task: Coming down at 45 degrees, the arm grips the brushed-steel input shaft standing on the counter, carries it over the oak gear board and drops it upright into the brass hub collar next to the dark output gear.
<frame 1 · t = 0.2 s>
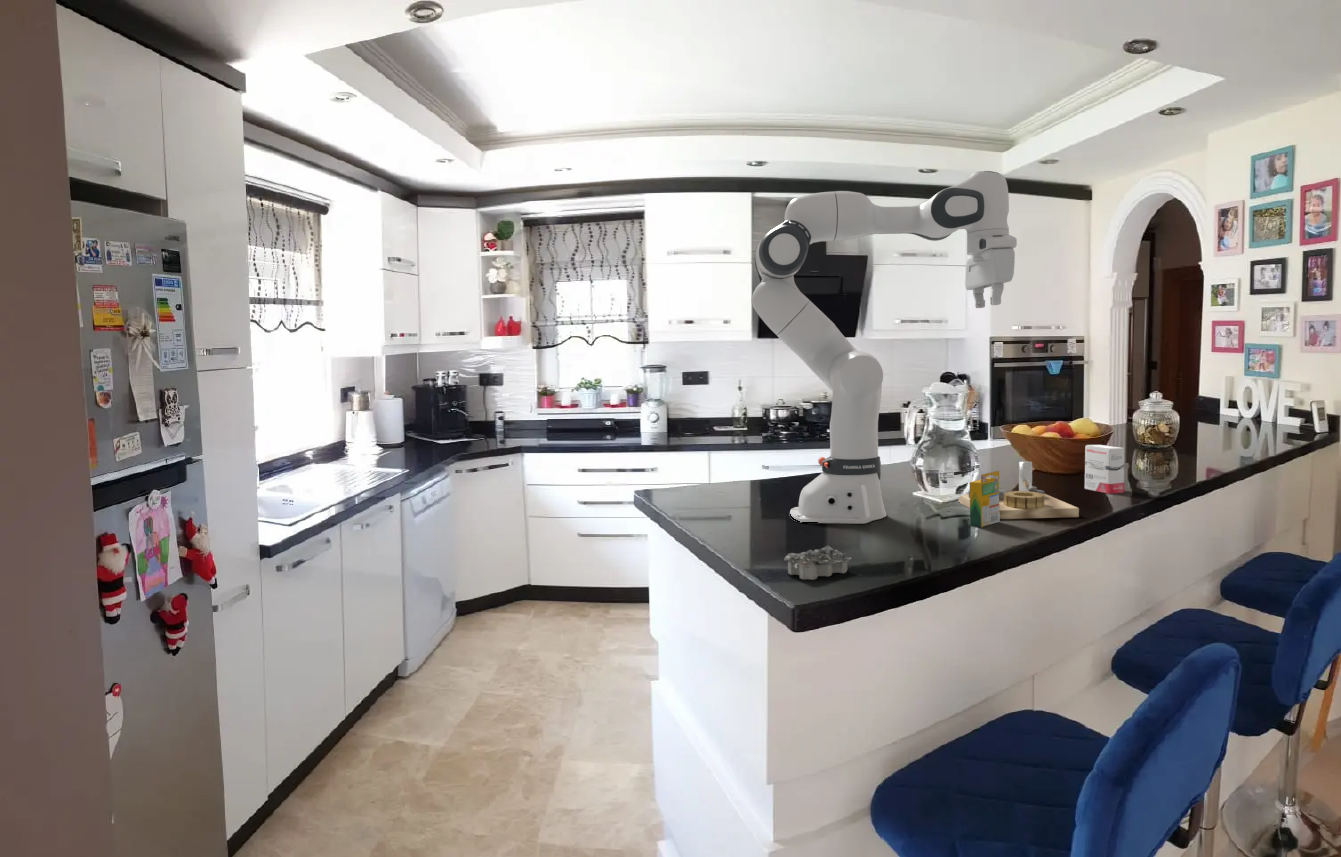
hand: (987, 306, 172), 48 cm above the countertop, tool pointing down, fingers open, 8 cm apart
egg carton: (817, 573, 135), on the countertop
crayon box: (984, 524, 165), on the countertop
input shaft: (1025, 496, 192), on the countertop
ink box: (1104, 491, 195), on the countertop
gear board: (1015, 509, 178), on the countertop
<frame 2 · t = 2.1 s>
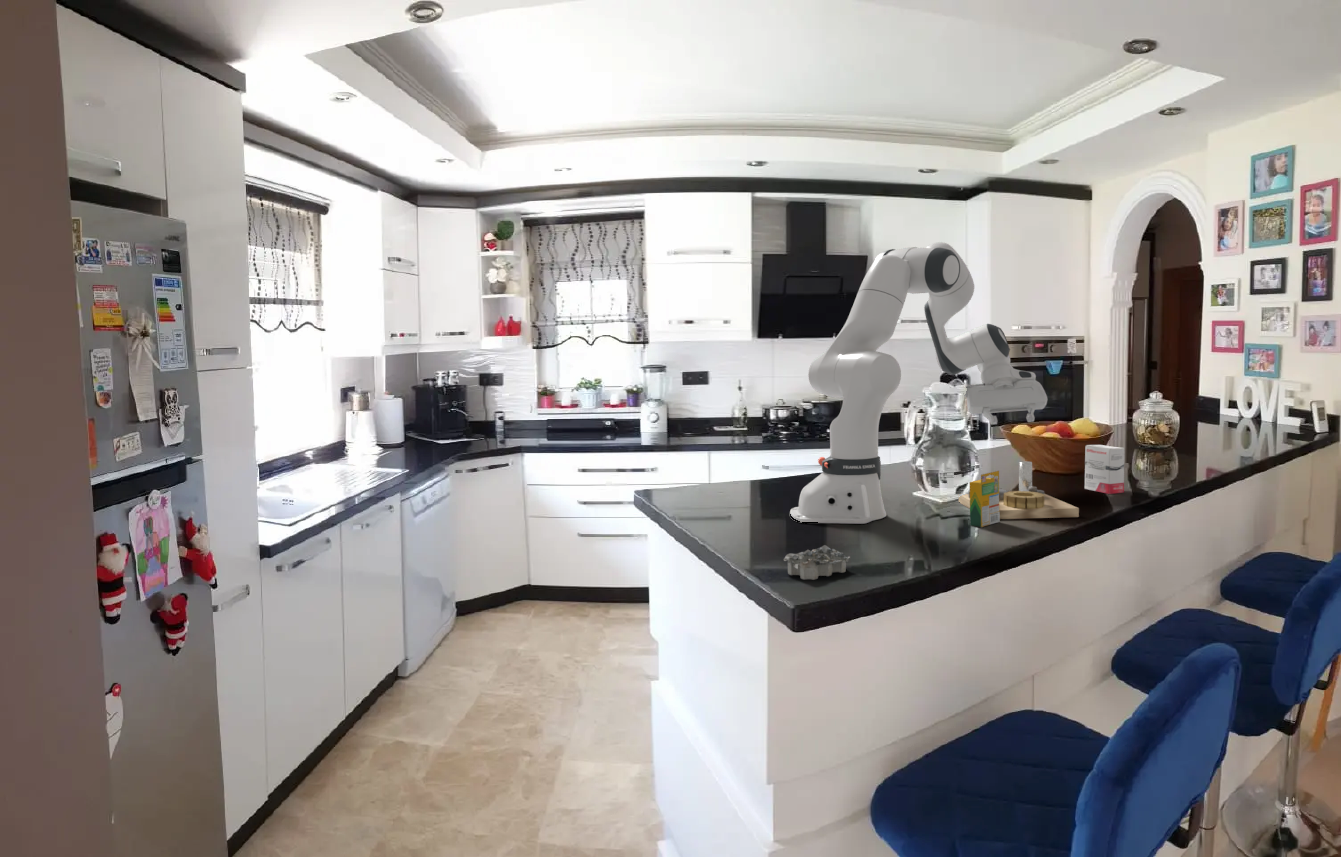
hand: (1012, 421, 201), 18 cm above the countertop, tool tilted 45°, fingers open, 8 cm apart
nothing on the countertop moved.
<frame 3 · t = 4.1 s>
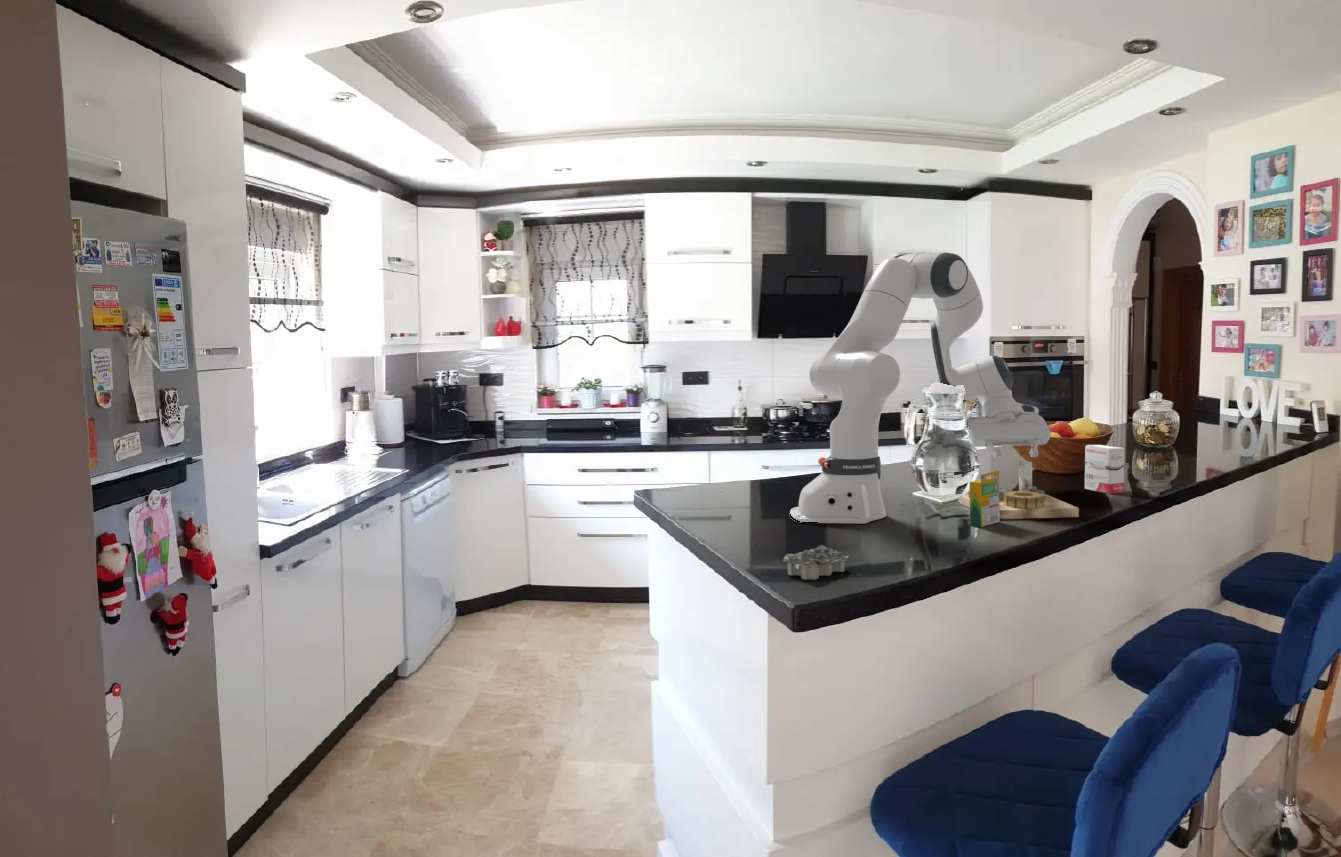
hand: (1016, 456, 196), 10 cm above the countertop, tool tilted 45°, fingers open, 8 cm apart
nothing on the countertop moved.
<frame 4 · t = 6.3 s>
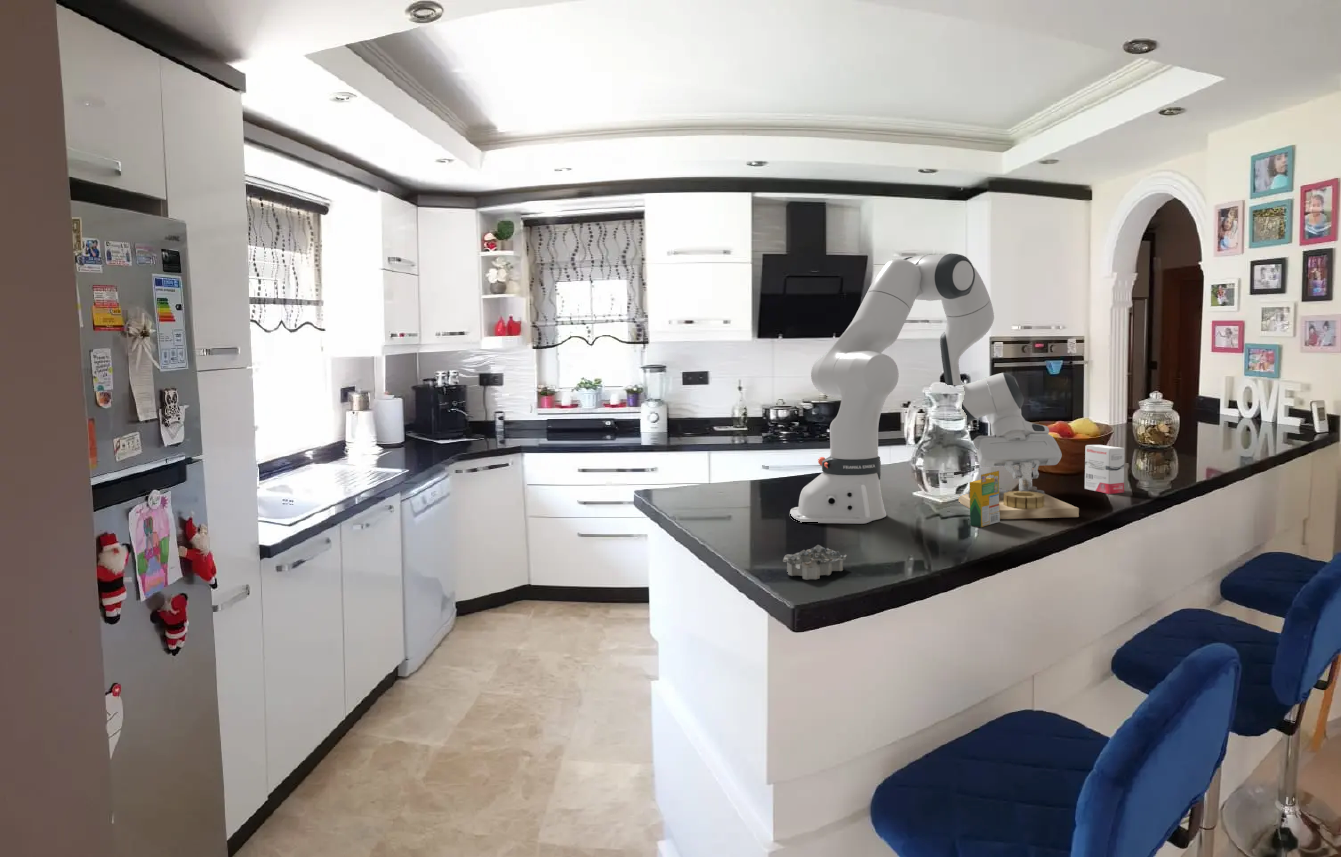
hand: (1026, 477, 191), 5 cm above the countertop, tool tilted 45°, fingers closed on input shaft, 3 cm apart
input shaft: (1025, 496, 192), on the countertop, touching gripper
everything else where it was.
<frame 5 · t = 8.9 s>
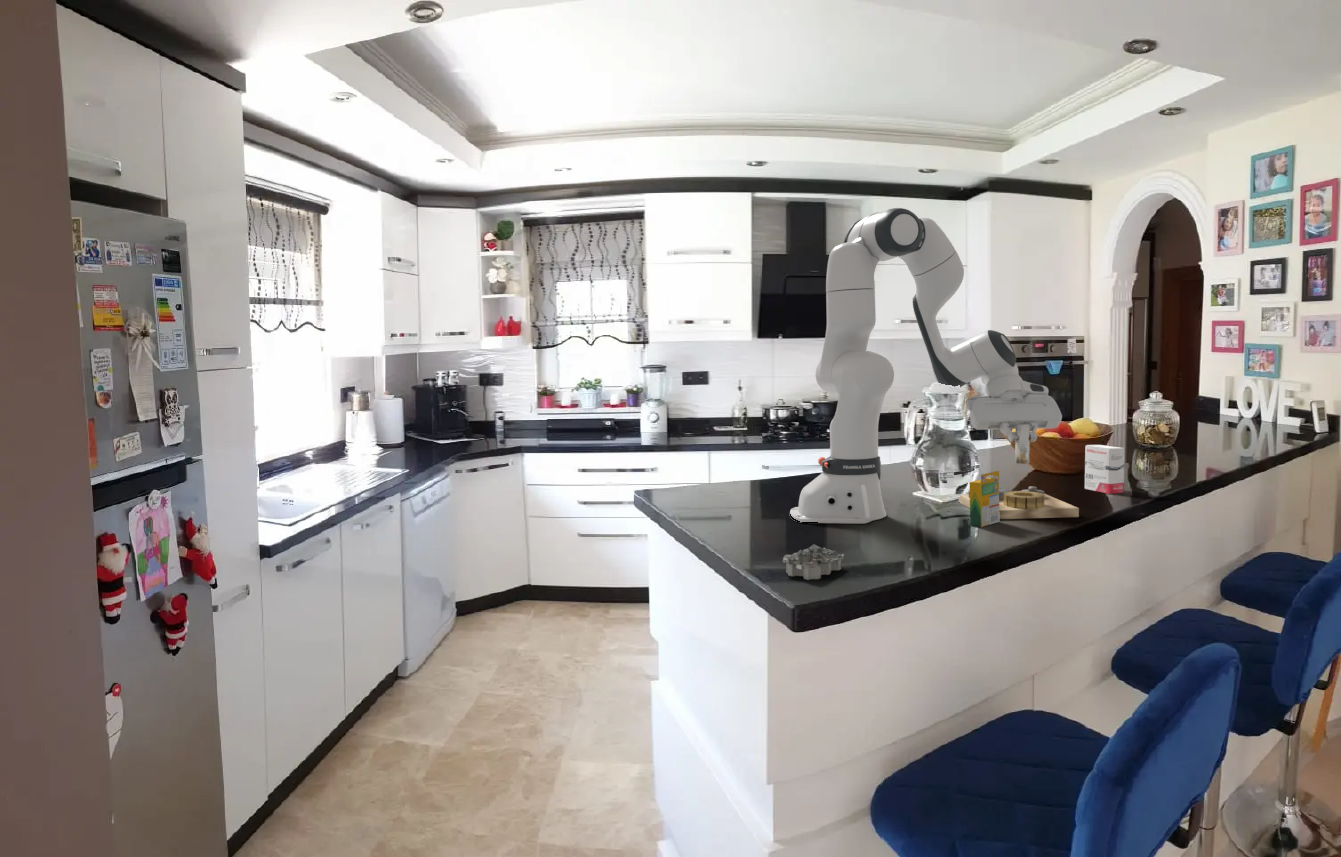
hand: (1023, 440, 175), 17 cm above the countertop, tool tilted 45°, fingers closed on input shaft, 3 cm apart
input shaft: (1022, 462, 176), point 11 cm above the countertop, touching gripper
when the fingers open (9 cm above the countertop, at t = 11.6 s): input shaft drops 1 cm, resting on gear board.
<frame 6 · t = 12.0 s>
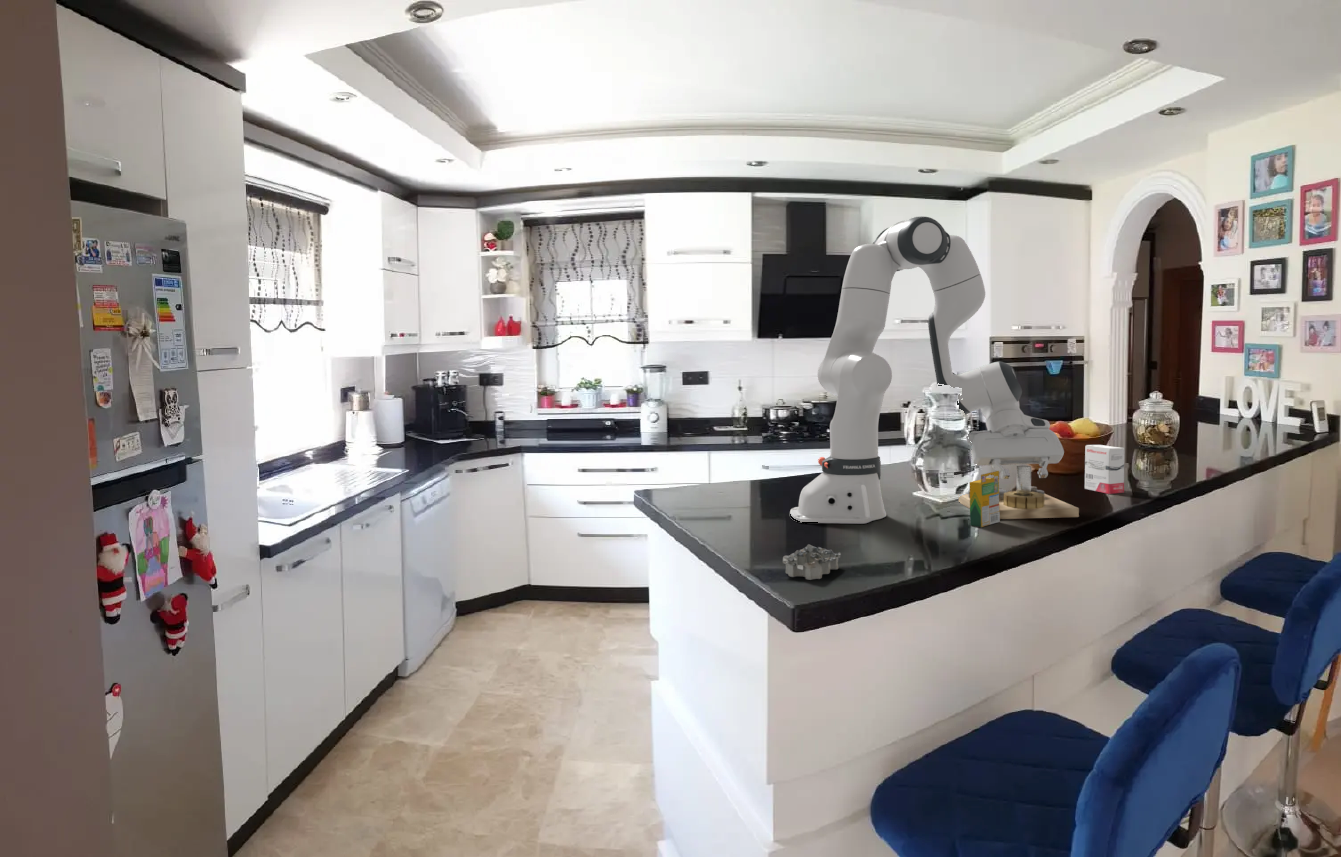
hand: (1024, 476, 172), 9 cm above the countertop, tool tilted 45°, fingers open, 7 cm apart
input shaft: (1023, 504, 173), point 2 cm above the countertop, touching gear board
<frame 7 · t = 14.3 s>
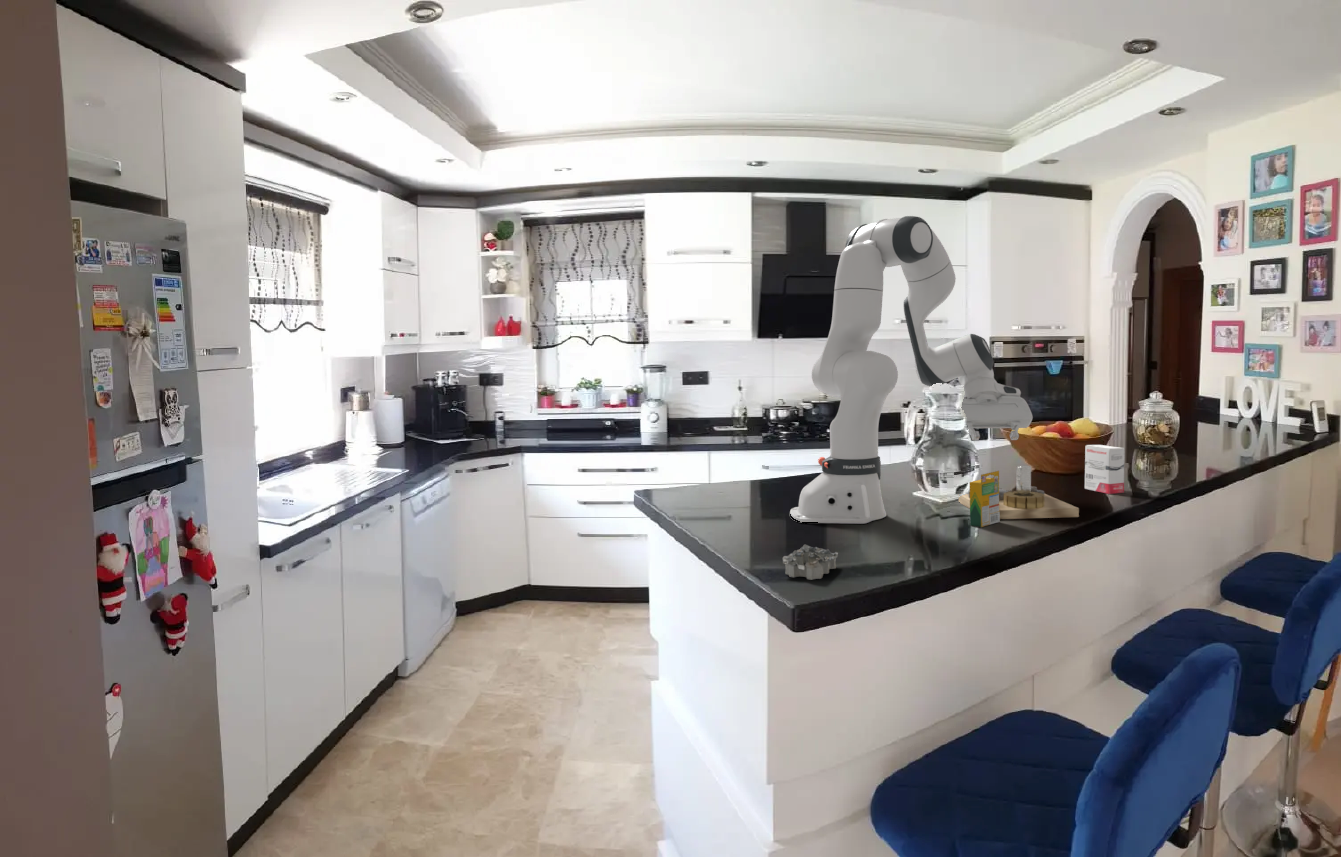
hand: (995, 438, 186), 16 cm above the countertop, tool tilted 45°, fingers open, 8 cm apart
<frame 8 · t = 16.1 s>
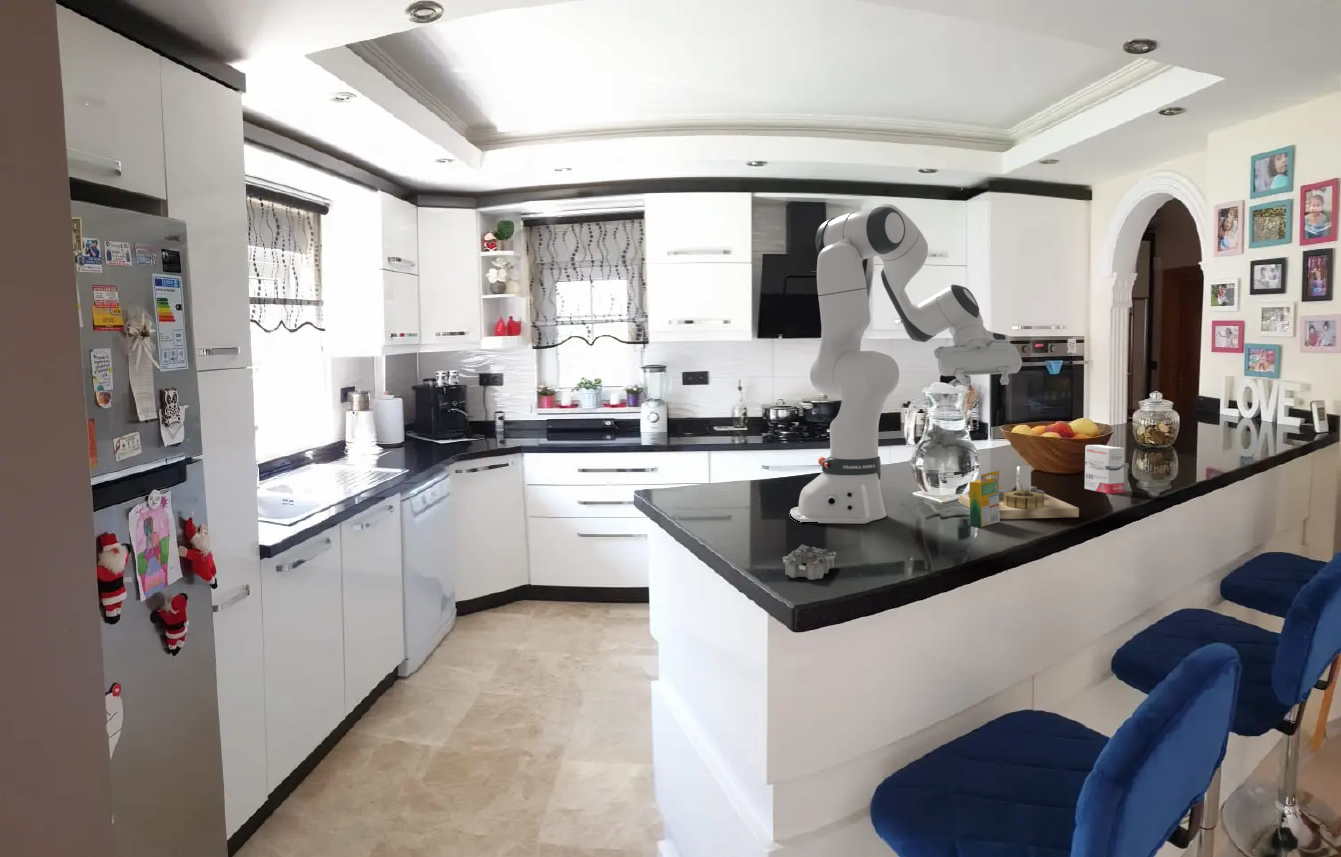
hand: (986, 383, 189), 29 cm above the countertop, tool tilted 45°, fingers open, 8 cm apart
at the end: input shaft 0.1 cm from the target spot on the gear board, point 2.0 cm above the gear board's base; input shaft tilted 0°; the gripper is holding nothing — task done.
